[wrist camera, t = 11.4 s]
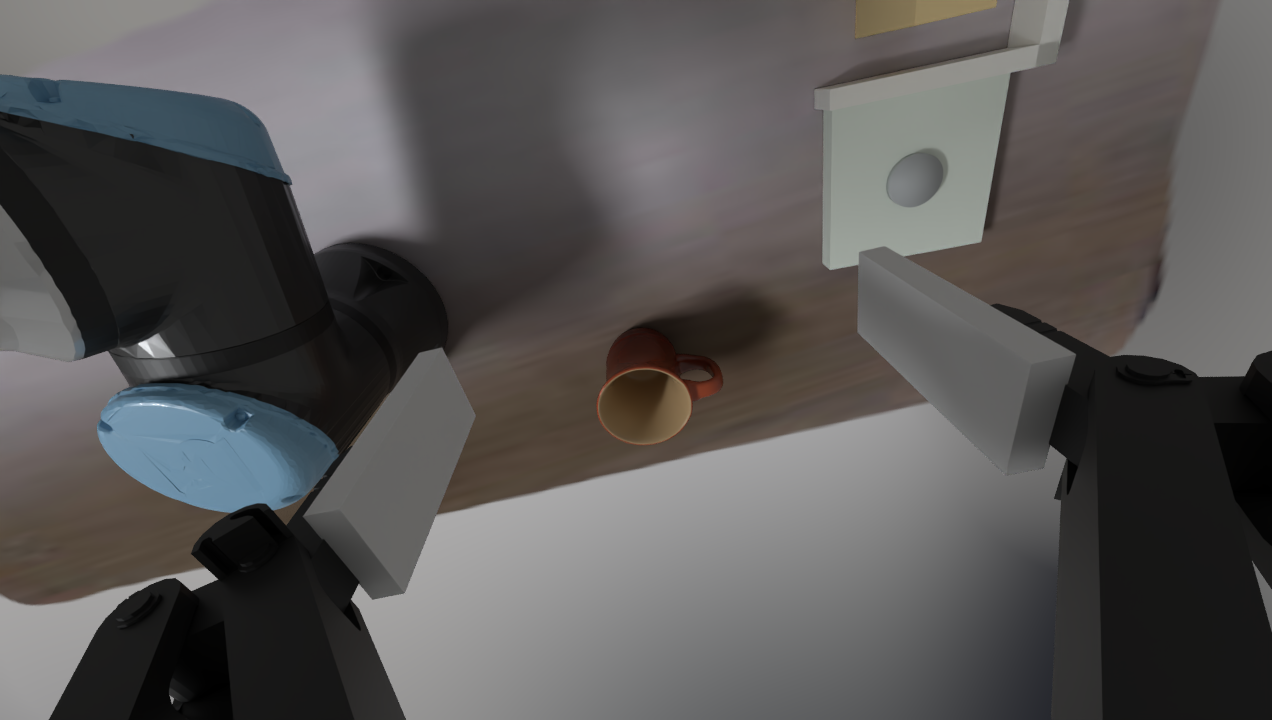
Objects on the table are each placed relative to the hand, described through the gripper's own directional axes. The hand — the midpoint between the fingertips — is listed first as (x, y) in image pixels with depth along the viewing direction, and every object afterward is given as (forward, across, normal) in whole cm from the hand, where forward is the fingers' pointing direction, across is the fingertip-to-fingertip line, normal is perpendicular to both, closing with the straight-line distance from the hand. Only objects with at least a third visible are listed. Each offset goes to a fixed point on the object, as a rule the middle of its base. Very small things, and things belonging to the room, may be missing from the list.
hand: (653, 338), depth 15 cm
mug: (+32, -1, -18) cm, 37 cm away
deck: (+31, +26, +2) cm, 41 cm away
